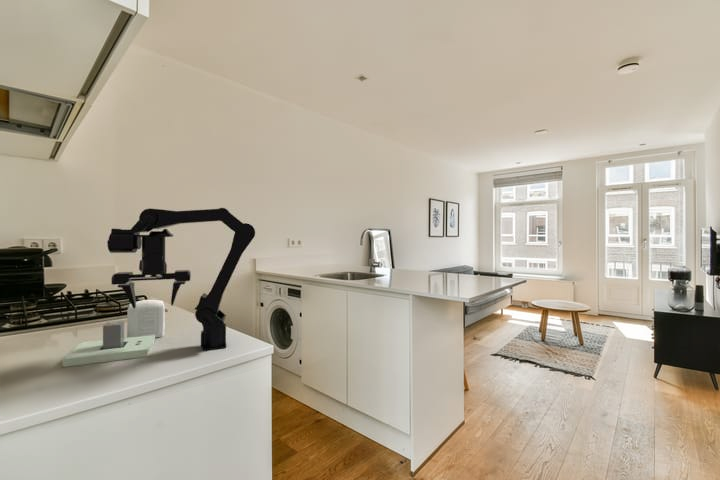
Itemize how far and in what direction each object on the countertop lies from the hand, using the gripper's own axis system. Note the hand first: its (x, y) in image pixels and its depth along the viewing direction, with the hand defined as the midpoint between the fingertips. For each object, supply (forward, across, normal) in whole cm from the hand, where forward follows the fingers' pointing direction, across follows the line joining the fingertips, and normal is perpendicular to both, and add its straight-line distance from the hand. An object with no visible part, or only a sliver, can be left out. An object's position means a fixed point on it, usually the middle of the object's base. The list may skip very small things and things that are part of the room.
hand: (153, 306), depth 93 cm
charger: (+13, +10, -3) cm, 16 cm away
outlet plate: (+13, +10, -3) cm, 17 cm away
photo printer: (+13, +4, -15) cm, 20 cm away
